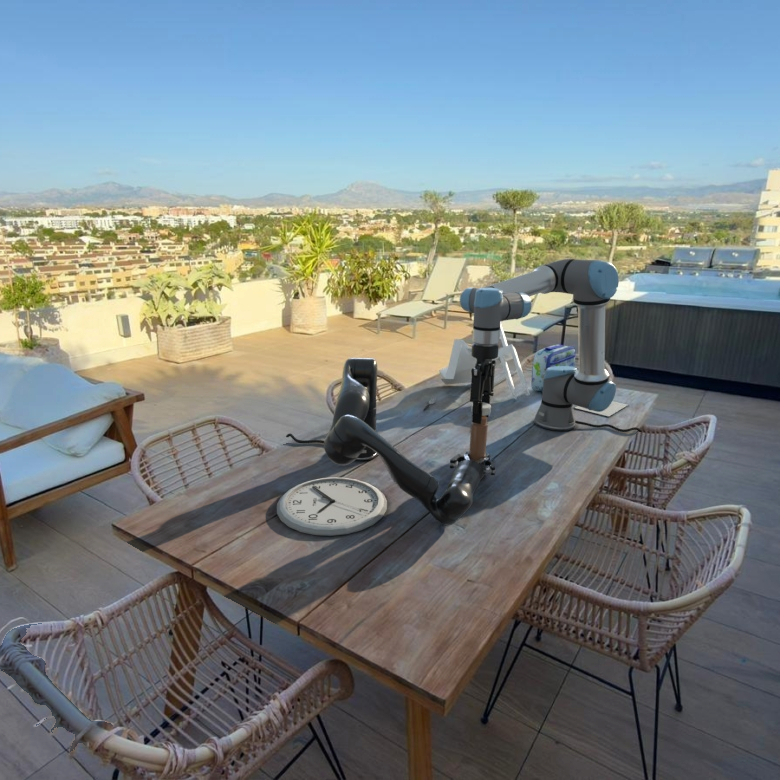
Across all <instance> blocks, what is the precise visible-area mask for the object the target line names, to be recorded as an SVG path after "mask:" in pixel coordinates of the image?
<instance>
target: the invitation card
mask: <svg viewBox="0 0 780 780" xmlns="http://www.w3.org/2000/svg"><path fill="white" fill-rule="evenodd" d="M628 406H629V404H627V403H623V402H618V401H614V400H613V401H612V402H611V404H610V405H609V407H608V408H606V409H605V410H604V411H601V412H597V411H593V410H589V409H586V408H583V407H580V406H577V405H575V406H574V407H573V409H575V410H581V411H584V412H587V413H593V414H596V415H600V416H604V417H608V418H609V417H611V416H613V415H614V414H616V413H617V412H619V411H621V410H623V409H624V408H626V407H628Z"/></svg>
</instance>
